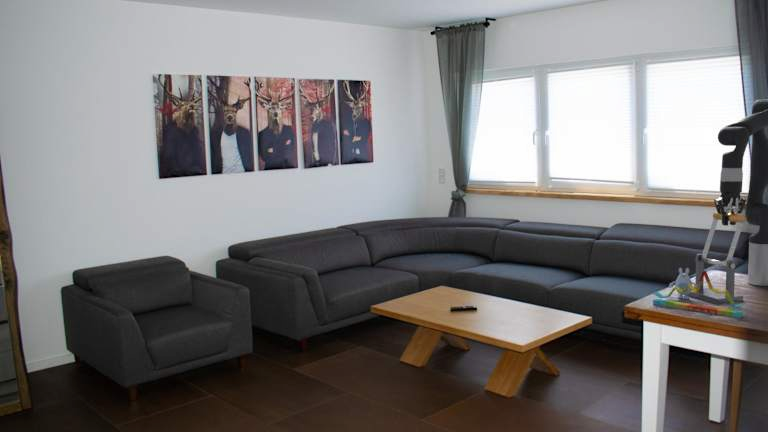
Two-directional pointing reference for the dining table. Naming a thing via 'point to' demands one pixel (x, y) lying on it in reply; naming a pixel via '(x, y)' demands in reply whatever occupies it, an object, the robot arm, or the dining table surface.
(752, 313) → the dining table surface
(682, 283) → the toy figure
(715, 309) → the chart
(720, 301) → the lever stand
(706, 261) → the lever
